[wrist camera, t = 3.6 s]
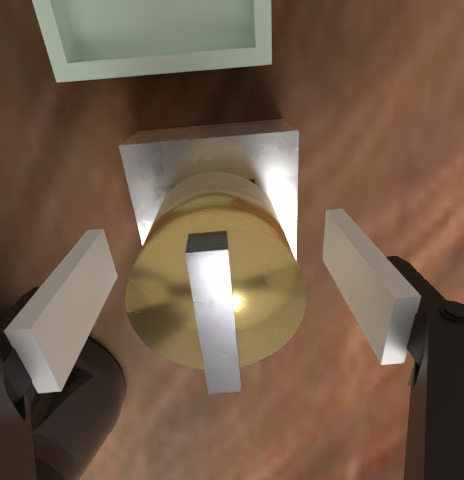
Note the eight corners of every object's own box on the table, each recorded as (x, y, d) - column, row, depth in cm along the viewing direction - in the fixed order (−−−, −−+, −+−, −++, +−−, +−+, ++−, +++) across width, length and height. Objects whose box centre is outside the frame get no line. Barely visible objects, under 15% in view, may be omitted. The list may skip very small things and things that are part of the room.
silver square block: (163, 254, 24) (153, 291, 20) (138, 130, 20) (118, 145, 16) (282, 244, 24) (295, 279, 20) (282, 118, 20) (299, 130, 16)
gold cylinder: (178, 238, 23) (139, 403, 12) (163, 150, 20) (89, 254, 9) (265, 230, 23) (311, 388, 12) (262, 141, 20) (321, 235, 9)
